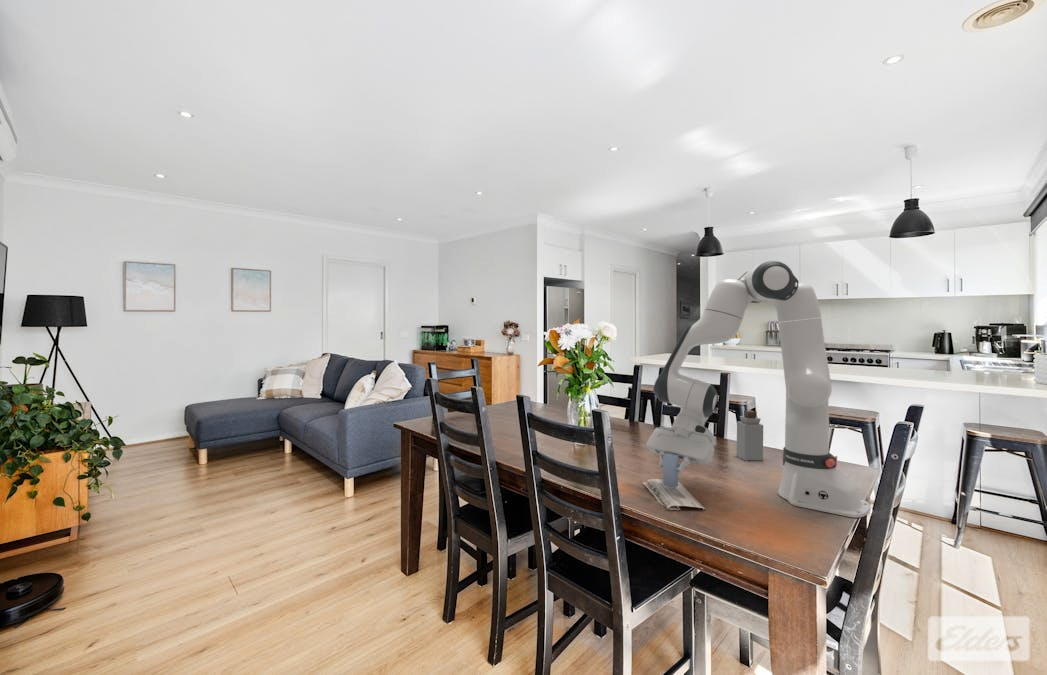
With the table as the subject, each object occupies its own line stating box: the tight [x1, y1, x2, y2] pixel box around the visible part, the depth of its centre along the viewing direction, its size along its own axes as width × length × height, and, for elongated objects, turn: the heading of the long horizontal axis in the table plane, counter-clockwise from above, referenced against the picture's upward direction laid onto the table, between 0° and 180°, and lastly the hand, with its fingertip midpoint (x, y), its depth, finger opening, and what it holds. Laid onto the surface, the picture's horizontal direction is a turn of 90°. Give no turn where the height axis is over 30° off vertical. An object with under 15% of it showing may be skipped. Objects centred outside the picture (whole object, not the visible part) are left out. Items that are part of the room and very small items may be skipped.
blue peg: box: [662, 453, 680, 487], centre depth 138 cm, size 4×4×9 cm
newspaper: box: [642, 478, 707, 511], centre depth 138 cm, size 23×12×2 cm, turn 0°
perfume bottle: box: [736, 410, 764, 462], centre depth 175 cm, size 7×7×18 cm
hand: (669, 468), depth 138 cm, fingers closed on blue peg, 4 cm apart
